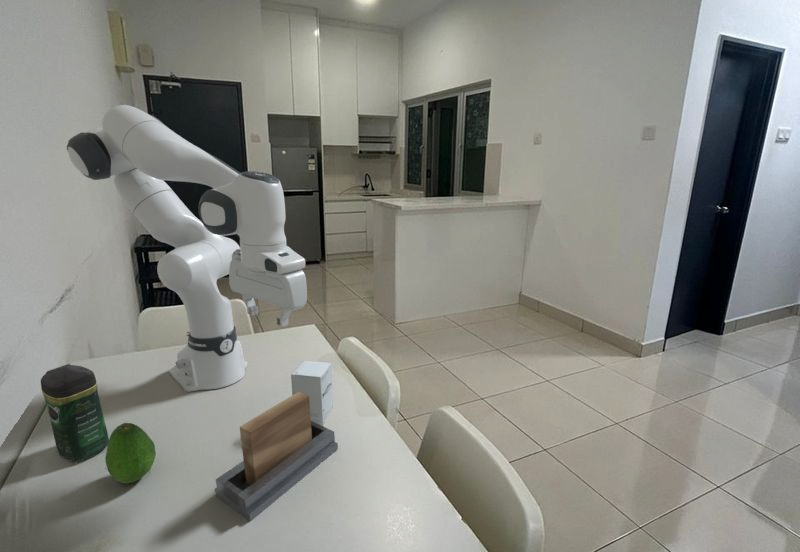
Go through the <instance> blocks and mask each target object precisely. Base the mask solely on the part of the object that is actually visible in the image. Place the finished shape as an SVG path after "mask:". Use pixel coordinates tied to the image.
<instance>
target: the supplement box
mask: <svg viewBox="0 0 800 552" xmlns="http://www.w3.org/2000/svg"><path fill="white" fill-rule="evenodd" d="M332 376H333V375H332V363H331V362H324V361H323V362H322V361H311V360H303V361H302V362H301V363H300V364H299V365H298V367H297V368H296V369H295V370H294V371H293V372H292V373H291V375H290V380H291V392H292V395H294V394H296V393H297V392H301V393H303V394H305V395H308V396H309V402H310V417H311V421H313V422H315V423H317V424H319V425H321V426H323V425H324V424H325V421H326V420H327V418H328V417H329V415H330V414H331V413H332V410H333V409H334V398H333V397H334V396H333V377H332ZM292 395H291V396H292Z"/></svg>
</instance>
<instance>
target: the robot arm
mask: <svg viewBox="0 0 800 552" xmlns="http://www.w3.org/2000/svg"><path fill="white" fill-rule="evenodd" d="M66 150H67V153H68V157H69V160H70V161H71V163H72V165H73V166H74V168H76V169H77V170H78V171H79V172H80V173H81V174H82V175H84V177H86V178H88V179H91V180H93V181H97V180H98V181H99V180H106V179H110V178H111V177H112V176H114V178H113V183H114V185H115V188H116V190H117V191H118V194H119V195H120V197H121V199H122V201H124V203H125V205H126V206H127V207H128V209H129V210H130V212H131V213H132V214H133V215H134V216H135V218H136V219H137V220H138V221H139V222H140V223H141V225H143V227H144V228H145V230H146V231H147V232H148V233H149V234H150V235H151V236H152V238H153V239H155V240H156V241H158V242H160V243H165V244H167V245H169V246H172V247H174V249H172V250H170V251H169V252H167V253H166V254H165V255H162V257H160V259H159V261H158V262H157V269H156V271H157V275H158V278H159V281H160V282H161V283H162V284H163V286H164V287H166V288H167V289H169V290H171V291H173V292H174V293H176V294H177V295H178V297H179V298H180V300H181V301H182V303H183V306H184V308H185V312H186V316H187V321H188V327H189V331H186V334H187V335H186V337H188V338H187V344H186V345H185V346H184V347H183V348H182V349H181V350H179V352H178V353H177V355H176V358H177V360H176V361H175V365H174V366H173V367H172V368H170V369H169V374H170V376H171V377H172V378H173V379H174V381H176V382H177V383H178V384H179V386H181V387H182V388H183V390H184V391H185V392H195V391H201V390H202V391H203V390H215V389H216V390H217V389H221V388H225V387H228V386H231V385H233V384H235V383H237V382H239V381H240V380H241V379H242V378H243V377H244V376H245V374H246V368H247V366H248V364H249V363H248V361H247V360H245V359H244V354H243V353H244V352H243V349H242V345H241V342H240V341H239V340H238V335H237V334H238V332H237V329H236V326H235V325H234V318H233V309H232V303H231V301H230V299H229V298H228V297H227V296H224V295H223V294H221V292H220V290H219V288H218V285H217V284H218V283H217V282H218V281H217V280H218V279H222V278H223V277H225V276H227V275H229V276H228V278H229V279H228V281H229V287H230V289H231V291H232V292H235V293H238V294H240V295H242V300H243V303H244V304H245V307H246V313H247V315H250V316H256V315H258V314H259V306H258V305H256V301H255V299H256V300H259V301H261V302H264V303H267V304H270V305H273V306H277V307H279V312H281V313H280V315H279V316H277V317H276V325H277V326H280V327H283V328H284V327H286V326H288V325H289V317H290V315H291V314H292V311H293V312H294V311H295V310H299V309H302V308H304V307H305V305H306V304H307V300H308V286H307V278H306V274H305V272H304V271H303V269H305V267H306V258H304V257H303V256H301V254H298V252H296V251H294V250H293V249H292V248H291V247H289V246H288V245H287V237H286V234H285V223H286V220H287V219H286V216H287V215H286V203H285V195H284V189H283V186H282V184H281V183H282V182H281V181H280V179H279V178H277V177H276V176H275V175H273V174H270V173H267V172H261V171H253V170H250V171H249V170H247V171H243V172H240V171H238V170H237V169H235V168H234V167H232V166H230V165H229V164H227V162H224V161H223V160H221V159H220V158H218V157H216V156H215V155H213V154H211V153H209V152H207V151H205V150H203V149H202V148H200V147H199V146H197V145H194V144H193V143H191V142H189V140H186V139H185V138H183V137H182V136H181V135H179V134H177V133H176V132H175V131H174V130H172V129H170V128H169V127H168V126H167V125H165V124H164V123H163V122H162V121H161V120H160V119H159V118H157V117H156V116H155V115H152V114H149V113H147V112H145V111H144V110H141V109H140V108H137V107H135V106H131V105H129V104H119V105H115V106H113V107H111V108H110V109H108V110H107V111H106V113H105V114H104V116H103V118H102V125H101V126H98V127H95V128H93V129H91V130H90V129H89V130H87V131H86V132H80V133H77V134H76V135H74V136H72V137H71V138H70V139H68V142H67V144H66ZM165 181H170V182H183V183H184V182H185V183H195V184H200V185H205V186H208V187H210V188H212V189H208V190H205V192H204V193H203V194H202V195H201V197H200V199H199V202H198V215H199V218H200V219H199V218H198V217H196V216H195V214H194V213H193V212H192V211H191V210H190V209H189V208H188V207H187V205H185V203H184V202H183V201H182V200H181V199H180V198H179V196H178V194H176V193H175V192H174V190H173V189H172V188H171V187H170V185H168V183H166V182H165ZM233 235H237V236H238V237H239V244H238V243H237V242H236V241H235V240H234V239H233V238H230V237H226V236H233Z"/></svg>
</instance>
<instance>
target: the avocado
mask: <svg viewBox="0 0 800 552" xmlns="http://www.w3.org/2000/svg"><path fill="white" fill-rule="evenodd" d="M156 454H157V451H156V446H155V443H154V441H153V440H152V438H151V437H150V436H149V435H148V433H147V432H146V431H144V429H142V427H140V426H138V425H137V424H134V423H131V422H124V423H122V424H120V425H118V426H117V427H115V429H114V430H112V432H111V433H110V436H109V443H108V446H107V447H106V453H105V458H104V460H105V465H106V469H107V471H108V473H109V474H110V477H112V479H114V480H115V481H117V482H118V483H123V484H130V483H135V482H136V481H138V480H140V479H142V478H143V477H145V475H146V474H147V473H148V472H150V470H151V468H152V466H154V463H155V459H156Z"/></svg>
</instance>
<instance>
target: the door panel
mask: <svg viewBox="0 0 800 552" xmlns="http://www.w3.org/2000/svg"><path fill="white" fill-rule="evenodd" d="M239 433H240V441H241V449H242V457H243V461H244V468H245V476H246V483H248V484H249V485H252V484H253V483H254V482H256V481H257V480H258V479H260V478H261V477H262V476H264V475H265V474H267V473H268V472H269V471H271V470H272V469H273V468H275V467H276V466H277V465H279V464H280V463H281V462H283V461H284V460H285V459H287V458H288V457H289V456H291V455H292V454H294V453H295V452H296V451H298V450H299V449H300V448H302V447H303V446H304V445H306V444H307V443H308V442H310V441H311V440H312V432H311V417H310V402H309V396H308V395H305V394H303V393H301V392H297V393H296V394H294V395H291V396H289V397H287V398H286V399H284V400H282V401H280V402H279V403H277V404H275V405H274V406H273V407H272V406H271V408H269V409H267V410H266V411H264V412H262V413H260V414H259V415H256V416H255V417H253V418H252V419H250V420H248V421H247V422H245V423H244V424H242V425H240V426H239Z"/></svg>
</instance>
